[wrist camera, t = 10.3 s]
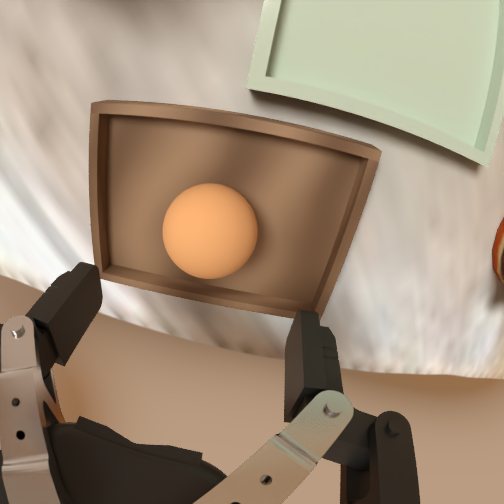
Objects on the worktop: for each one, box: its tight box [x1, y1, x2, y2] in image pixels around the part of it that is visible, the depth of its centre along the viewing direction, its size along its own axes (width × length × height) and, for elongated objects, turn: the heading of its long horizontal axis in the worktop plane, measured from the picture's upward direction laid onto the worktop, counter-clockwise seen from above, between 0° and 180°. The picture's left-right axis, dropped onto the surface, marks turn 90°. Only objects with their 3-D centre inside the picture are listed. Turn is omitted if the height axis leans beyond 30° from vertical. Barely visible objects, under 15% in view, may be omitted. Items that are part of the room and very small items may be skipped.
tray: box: [89, 100, 382, 321], centre depth 18 cm, size 16×12×2 cm
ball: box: [163, 183, 258, 279], centre depth 16 cm, size 5×5×5 cm
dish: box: [246, 0, 504, 168], centre depth 11 cm, size 15×15×2 cm
